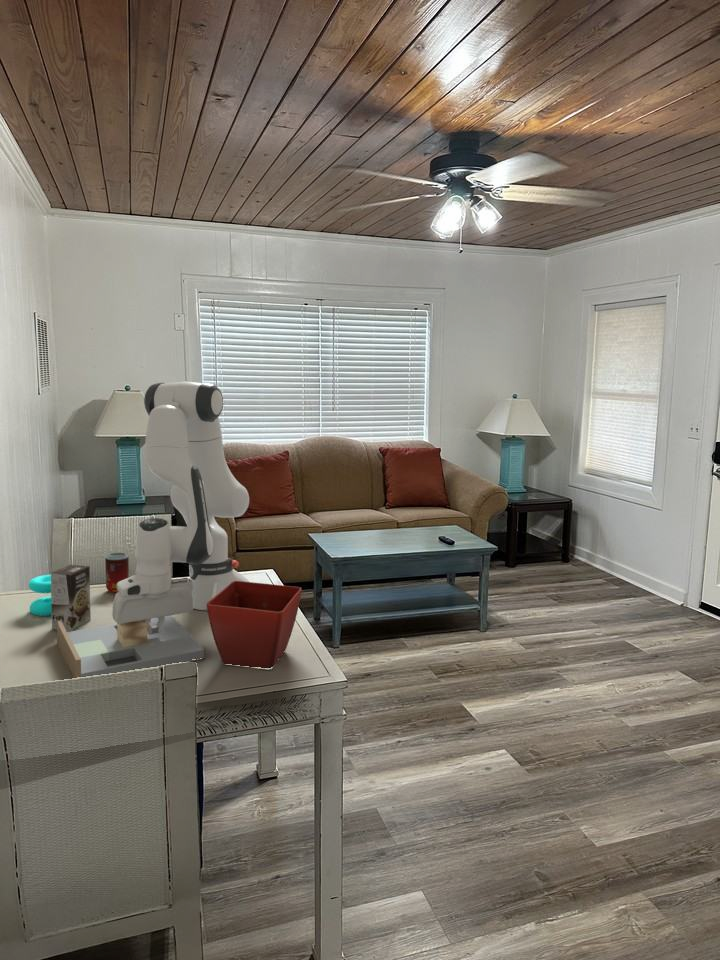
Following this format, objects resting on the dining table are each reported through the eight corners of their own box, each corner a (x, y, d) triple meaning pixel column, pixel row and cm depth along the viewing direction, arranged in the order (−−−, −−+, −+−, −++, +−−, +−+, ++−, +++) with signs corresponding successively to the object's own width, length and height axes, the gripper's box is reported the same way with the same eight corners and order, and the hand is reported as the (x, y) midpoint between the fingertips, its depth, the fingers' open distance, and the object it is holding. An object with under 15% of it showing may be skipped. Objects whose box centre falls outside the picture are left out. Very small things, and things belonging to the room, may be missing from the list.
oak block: (140, 634, 174) (140, 616, 174) (147, 642, 170) (147, 624, 169) (117, 639, 171) (117, 620, 170) (123, 647, 166) (123, 628, 165)
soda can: (104, 589, 216) (104, 552, 214) (127, 586, 219) (127, 550, 217) (107, 596, 210) (106, 558, 208) (130, 593, 213) (130, 556, 211)
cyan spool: (73, 577, 195) (42, 586, 187) (74, 610, 197) (43, 619, 189) (52, 571, 201) (21, 579, 192) (53, 603, 202) (22, 612, 194)
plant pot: (280, 679, 158) (281, 611, 155) (204, 670, 161) (204, 603, 159) (301, 647, 177) (302, 586, 174) (232, 640, 180) (233, 580, 177)
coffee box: (72, 631, 181) (70, 574, 178) (51, 629, 182) (49, 572, 180) (91, 620, 190) (90, 565, 187) (71, 617, 191) (70, 563, 188)
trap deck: (171, 623, 190) (171, 603, 189) (204, 659, 167) (204, 636, 166) (57, 642, 173) (56, 620, 172) (76, 685, 151) (76, 660, 150)
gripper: (188, 573, 179) (188, 622, 181) (110, 584, 168) (111, 635, 170) (197, 580, 174) (196, 630, 176) (116, 591, 163) (117, 644, 165)
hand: (154, 633), depth 173 cm, fingers closed
